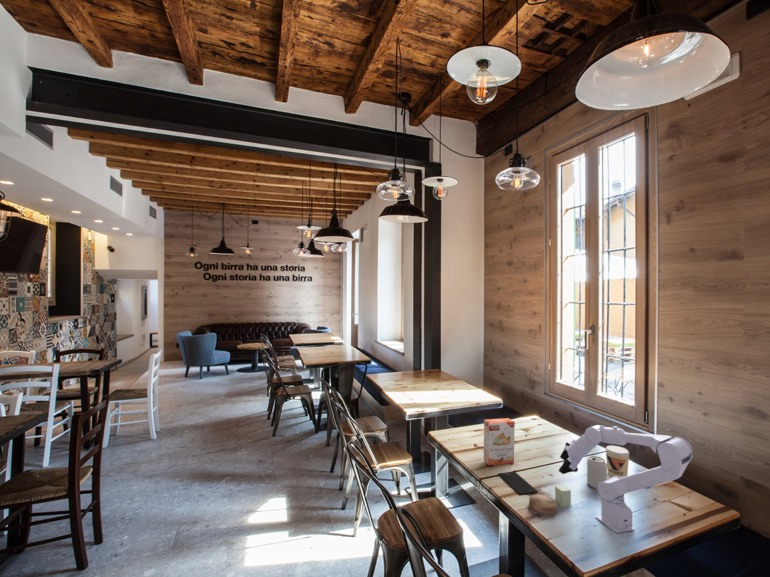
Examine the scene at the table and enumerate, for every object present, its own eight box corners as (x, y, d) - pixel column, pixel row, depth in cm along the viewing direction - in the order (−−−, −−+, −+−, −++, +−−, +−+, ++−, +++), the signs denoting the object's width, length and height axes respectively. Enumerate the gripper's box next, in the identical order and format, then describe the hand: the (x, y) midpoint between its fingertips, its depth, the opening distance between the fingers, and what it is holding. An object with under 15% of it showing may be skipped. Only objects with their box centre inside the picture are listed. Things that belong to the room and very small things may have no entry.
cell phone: (514, 473, 172) (514, 471, 172) (538, 493, 155) (538, 491, 155) (497, 475, 171) (497, 473, 171) (519, 496, 153) (519, 493, 153)
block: (570, 505, 146) (570, 490, 146) (562, 506, 145) (562, 491, 145) (563, 499, 150) (563, 485, 150) (555, 501, 149) (555, 486, 149)
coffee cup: (603, 475, 170) (603, 449, 170) (608, 468, 177) (608, 443, 177) (627, 482, 164) (627, 455, 164) (631, 475, 171) (631, 449, 171)
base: (562, 513, 140) (562, 506, 140) (540, 516, 138) (540, 510, 138) (545, 499, 150) (545, 492, 150) (524, 502, 148) (524, 495, 148)
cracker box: (488, 466, 178) (489, 423, 179) (483, 460, 184) (483, 419, 185) (514, 463, 181) (515, 421, 182) (508, 458, 187) (508, 417, 188)
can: (590, 479, 166) (590, 453, 166) (609, 486, 161) (609, 458, 161) (584, 485, 161) (584, 458, 161) (604, 492, 155) (604, 464, 156)
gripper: (573, 428, 152) (554, 446, 159) (571, 453, 140) (551, 472, 147) (589, 439, 150) (569, 457, 157) (589, 465, 138) (567, 483, 145)
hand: (561, 465), depth 152 cm, fingers open, 7 cm apart
